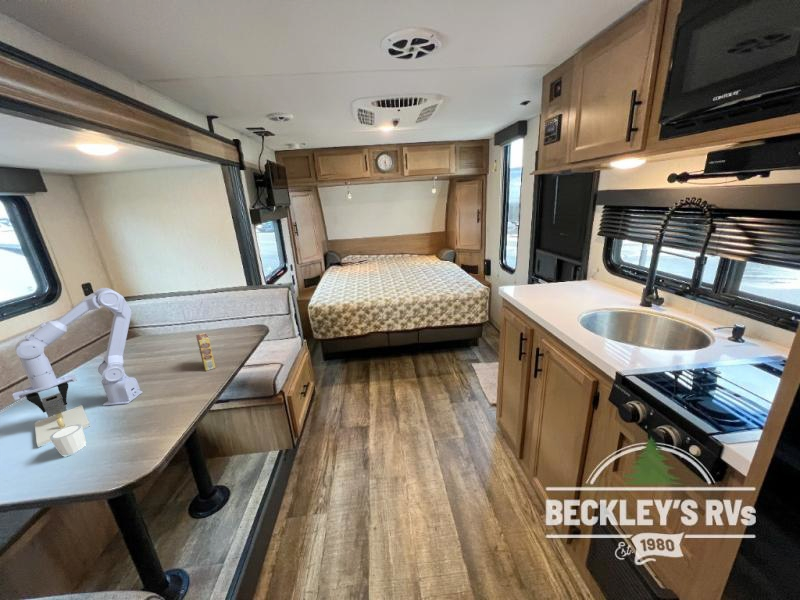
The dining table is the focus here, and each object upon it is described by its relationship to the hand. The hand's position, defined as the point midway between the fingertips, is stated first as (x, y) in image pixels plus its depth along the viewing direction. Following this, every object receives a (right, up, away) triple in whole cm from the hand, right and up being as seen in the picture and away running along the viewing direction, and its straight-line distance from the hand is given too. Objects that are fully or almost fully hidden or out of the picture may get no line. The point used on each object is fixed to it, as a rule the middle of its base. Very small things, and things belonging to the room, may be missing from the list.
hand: (55, 407), depth 108 cm
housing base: (+3, -6, -1) cm, 7 cm away
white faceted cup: (+20, -9, -13) cm, 25 cm away
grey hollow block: (0, -1, 0) cm, 2 cm away
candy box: (+32, +6, +37) cm, 49 cm away
